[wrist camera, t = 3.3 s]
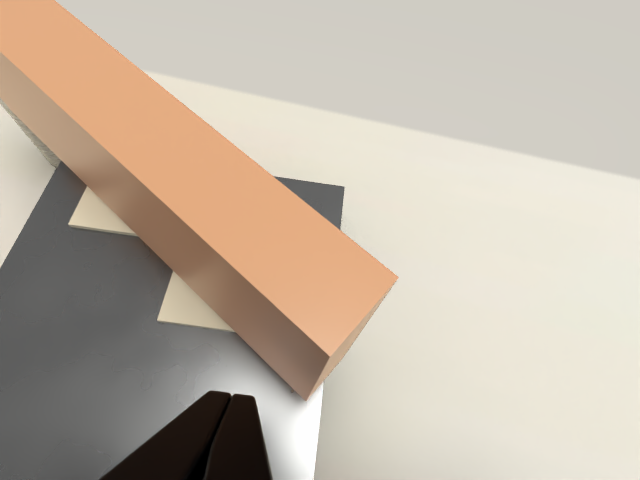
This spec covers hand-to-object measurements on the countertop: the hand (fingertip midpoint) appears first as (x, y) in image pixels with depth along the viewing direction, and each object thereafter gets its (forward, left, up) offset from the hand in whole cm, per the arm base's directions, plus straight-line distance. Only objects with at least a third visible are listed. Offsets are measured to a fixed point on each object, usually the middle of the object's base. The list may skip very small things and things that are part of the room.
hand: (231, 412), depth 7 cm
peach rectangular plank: (+5, +4, -3) cm, 7 cm away
